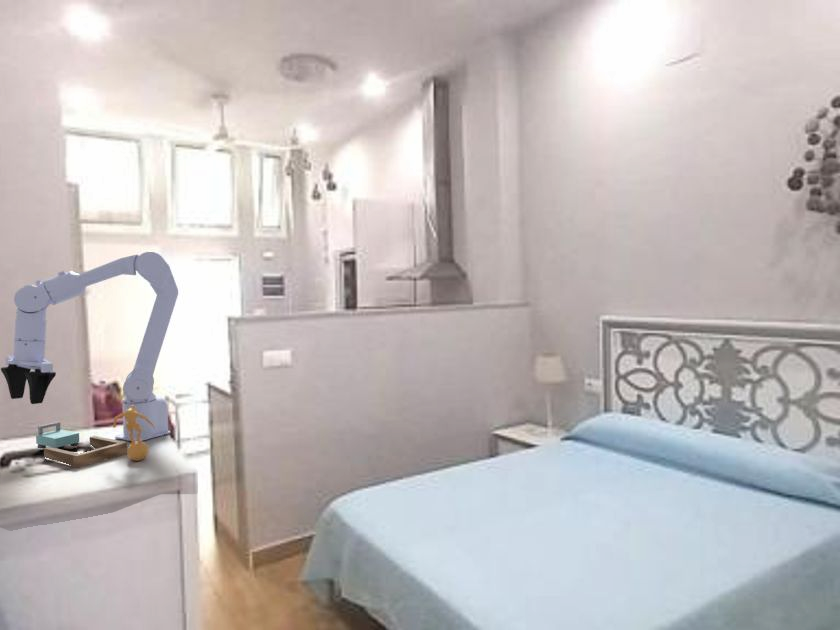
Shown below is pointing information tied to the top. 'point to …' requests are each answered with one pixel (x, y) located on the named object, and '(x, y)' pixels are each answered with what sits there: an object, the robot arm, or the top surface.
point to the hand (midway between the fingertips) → (26, 400)
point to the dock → (89, 452)
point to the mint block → (56, 437)
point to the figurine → (137, 448)
